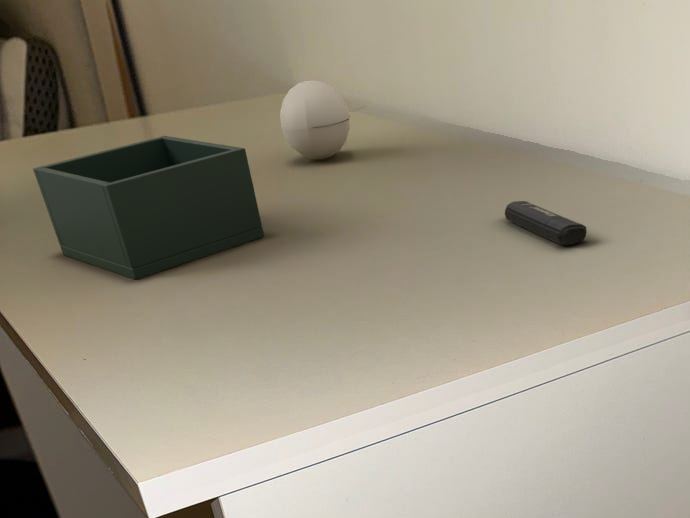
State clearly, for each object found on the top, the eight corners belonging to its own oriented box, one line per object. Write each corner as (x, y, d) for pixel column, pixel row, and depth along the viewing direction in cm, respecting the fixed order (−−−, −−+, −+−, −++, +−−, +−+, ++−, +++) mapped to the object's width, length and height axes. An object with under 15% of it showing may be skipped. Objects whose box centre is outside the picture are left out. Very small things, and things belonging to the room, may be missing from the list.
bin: (62, 254, 79) (32, 168, 75) (186, 217, 86) (164, 135, 82) (135, 279, 72) (106, 185, 68) (264, 236, 79) (245, 148, 74)
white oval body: (301, 171, 97) (286, 90, 92) (279, 159, 102) (264, 82, 97) (388, 153, 100) (378, 74, 95) (363, 142, 105) (352, 67, 100)
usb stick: (590, 242, 70) (590, 221, 69) (560, 249, 69) (560, 228, 69) (529, 216, 77) (528, 196, 76) (501, 222, 76) (500, 202, 75)
